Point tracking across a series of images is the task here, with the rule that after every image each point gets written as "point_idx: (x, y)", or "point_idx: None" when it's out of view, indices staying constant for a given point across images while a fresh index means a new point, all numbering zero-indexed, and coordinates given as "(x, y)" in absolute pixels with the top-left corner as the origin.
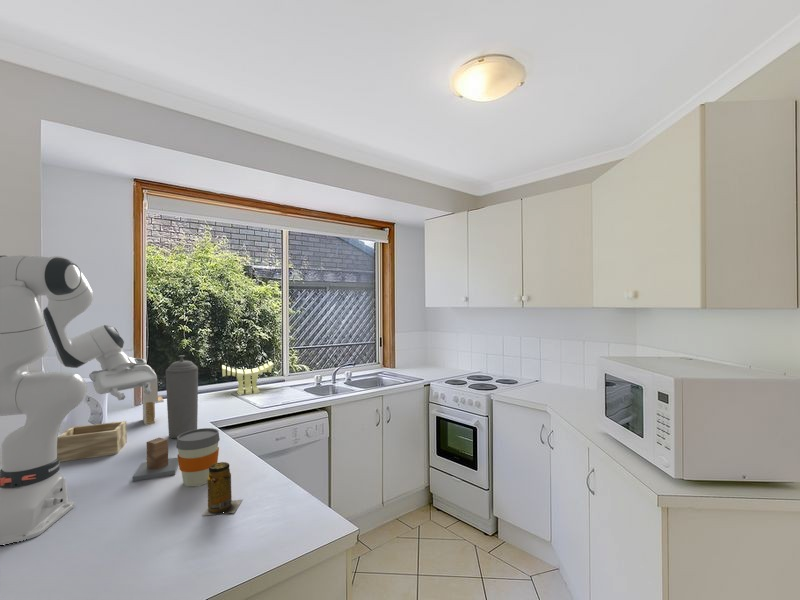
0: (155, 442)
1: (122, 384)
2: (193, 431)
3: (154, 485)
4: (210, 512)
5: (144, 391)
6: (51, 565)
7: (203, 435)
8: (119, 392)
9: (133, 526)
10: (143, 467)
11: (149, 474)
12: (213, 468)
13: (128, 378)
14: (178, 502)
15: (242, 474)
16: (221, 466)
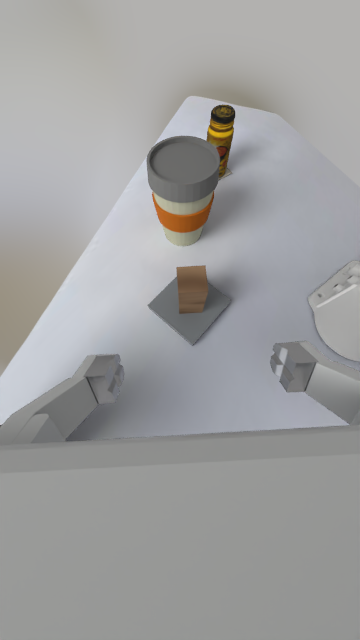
0: (201, 270)
1: (352, 430)
2: (170, 183)
3: (220, 265)
4: (225, 171)
5: (115, 390)
6: (345, 207)
7: (175, 160)
8: (332, 368)
9: (278, 205)
10: (203, 320)
11: (213, 287)
12: (232, 109)
13: (268, 601)
14: (229, 208)
15: (149, 202)
16: (222, 109)
